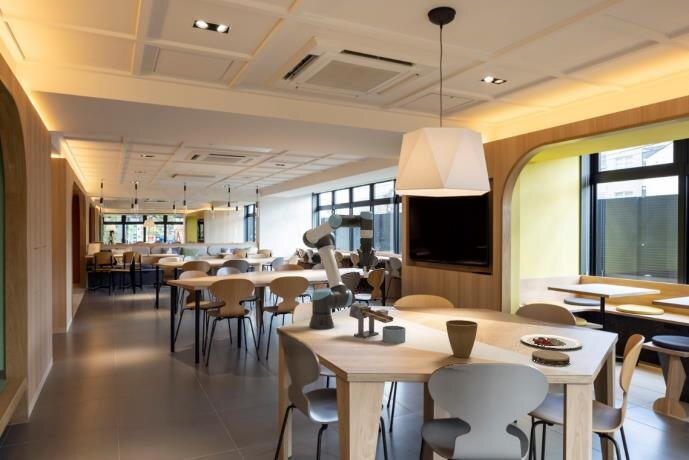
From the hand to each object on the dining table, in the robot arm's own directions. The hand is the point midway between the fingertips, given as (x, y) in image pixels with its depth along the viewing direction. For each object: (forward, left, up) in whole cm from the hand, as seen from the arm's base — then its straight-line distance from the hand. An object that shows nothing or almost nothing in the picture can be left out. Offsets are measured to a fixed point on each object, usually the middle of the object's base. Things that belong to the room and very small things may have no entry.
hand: (366, 277), depth 268 cm
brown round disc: (+100, +11, -33) cm, 106 cm away
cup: (+24, -6, -32) cm, 41 cm away
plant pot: (+65, -9, -33) cm, 73 cm away
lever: (+8, -3, -24) cm, 25 cm away
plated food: (+90, +45, -33) cm, 106 cm away
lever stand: (+5, -6, -32) cm, 33 cm away
